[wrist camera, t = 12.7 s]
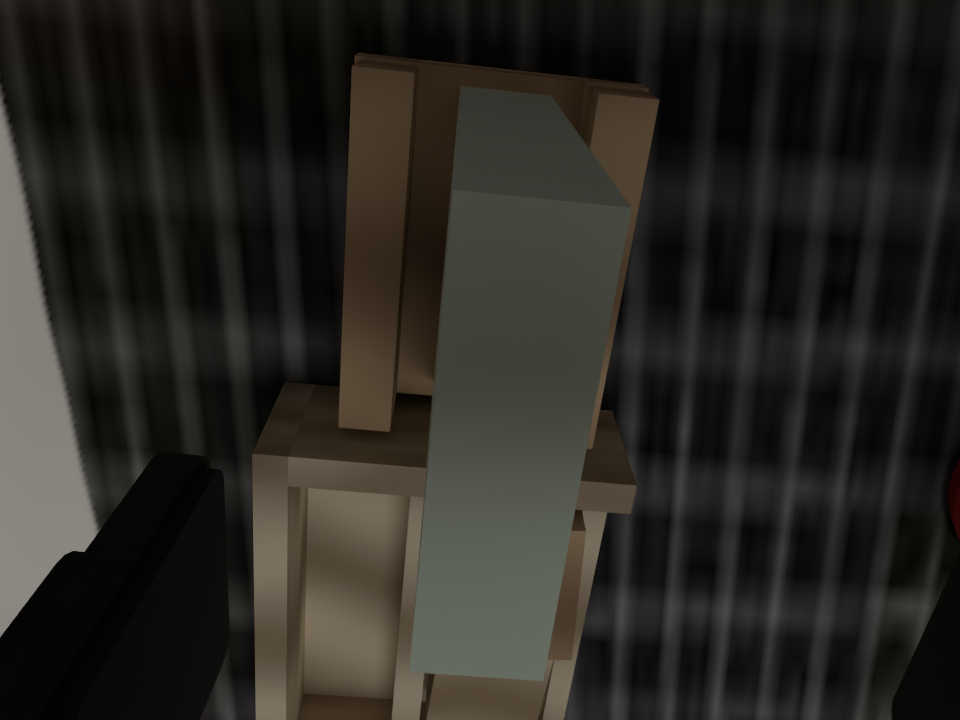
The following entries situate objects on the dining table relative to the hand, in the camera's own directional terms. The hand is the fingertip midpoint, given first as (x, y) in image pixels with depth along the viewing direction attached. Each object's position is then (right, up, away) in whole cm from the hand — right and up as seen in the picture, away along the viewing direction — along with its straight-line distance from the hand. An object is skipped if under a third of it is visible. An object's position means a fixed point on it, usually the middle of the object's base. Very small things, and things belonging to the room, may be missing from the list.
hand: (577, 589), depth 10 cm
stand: (-1, +7, +15) cm, 16 cm away
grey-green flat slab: (-1, +6, +14) cm, 15 cm away
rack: (-3, -5, +20) cm, 20 cm away
